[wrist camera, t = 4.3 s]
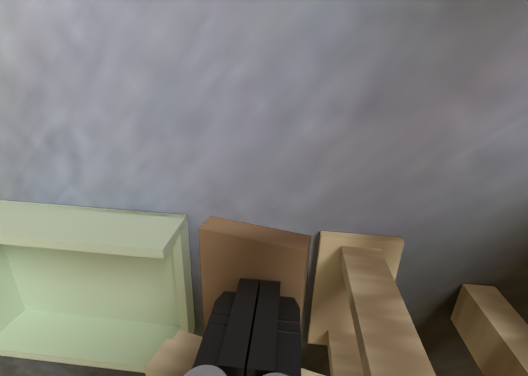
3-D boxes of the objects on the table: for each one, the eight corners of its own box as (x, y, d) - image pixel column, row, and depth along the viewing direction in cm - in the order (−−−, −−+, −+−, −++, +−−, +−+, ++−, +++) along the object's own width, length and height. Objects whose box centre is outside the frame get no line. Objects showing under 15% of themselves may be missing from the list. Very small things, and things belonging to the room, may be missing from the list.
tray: (-14, 199, 21) (-122, 248, 16) (187, 214, 20) (146, 273, 15) (25, 309, 25) (-51, 380, 20) (195, 328, 24) (165, 408, 19)
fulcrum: (511, 246, 19) (707, 418, 10) (467, 353, 22) (580, 551, 13) (320, 230, 20) (340, 375, 11) (307, 336, 23) (314, 511, 14)
